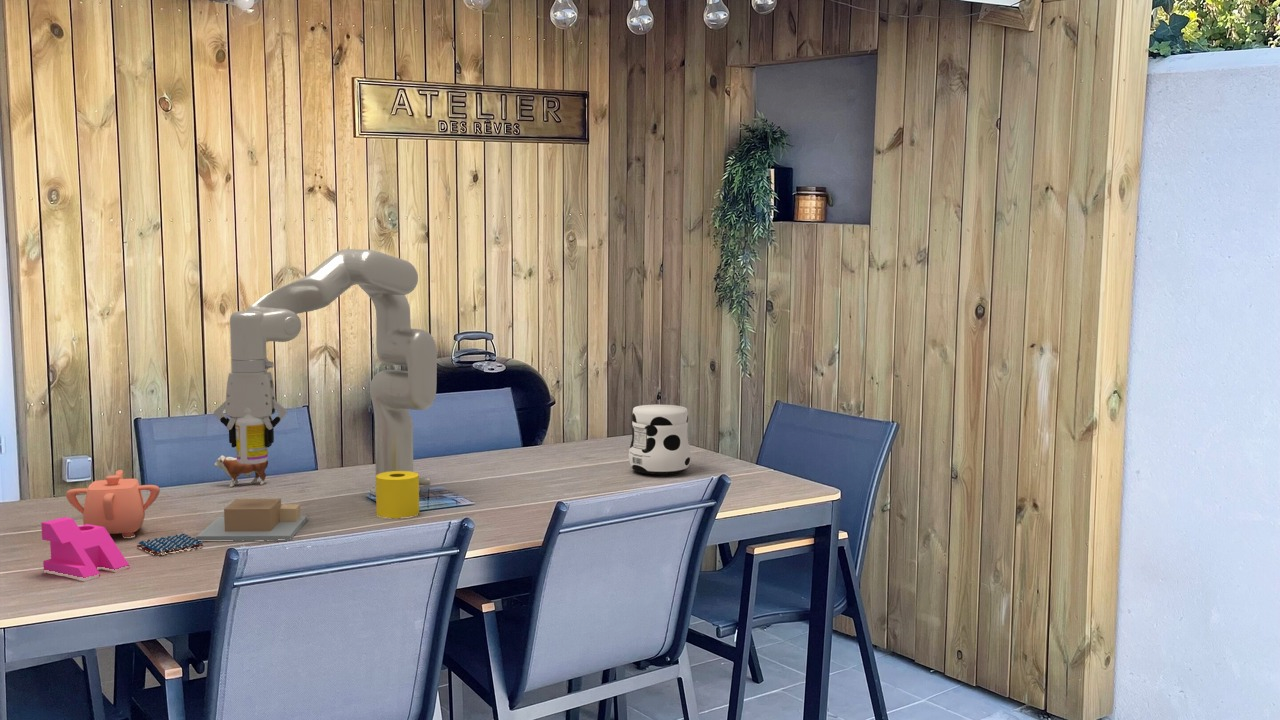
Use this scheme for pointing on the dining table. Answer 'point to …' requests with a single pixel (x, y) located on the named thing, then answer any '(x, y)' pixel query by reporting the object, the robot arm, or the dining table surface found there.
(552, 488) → the dining table surface
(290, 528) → the board
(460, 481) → the dining table surface
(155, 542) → the woven mat
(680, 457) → the milk container
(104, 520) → the teapot
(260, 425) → the supplement bottle
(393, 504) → the yellow toilet paper roll
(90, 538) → the bracket
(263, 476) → the bull figurine
